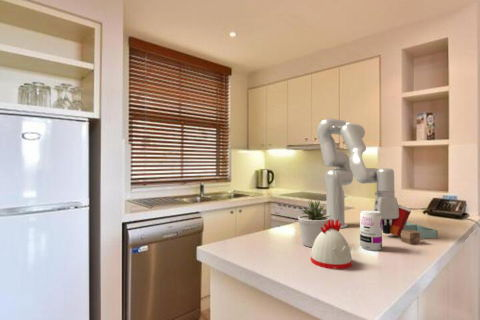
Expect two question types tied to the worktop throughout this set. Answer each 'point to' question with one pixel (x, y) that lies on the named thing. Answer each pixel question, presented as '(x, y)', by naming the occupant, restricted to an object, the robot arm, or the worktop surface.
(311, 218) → the potted plant
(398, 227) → the paper cup
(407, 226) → the caddy
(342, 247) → the white crested dome
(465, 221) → the worktop surface
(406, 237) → the walnut block
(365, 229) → the supplement can
